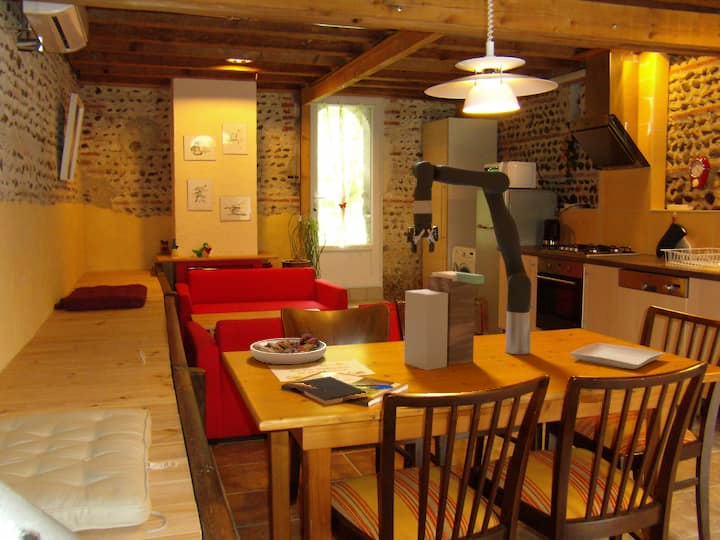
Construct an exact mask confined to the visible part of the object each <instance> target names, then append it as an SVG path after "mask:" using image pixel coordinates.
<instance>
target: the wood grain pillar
mask: <svg viewBox="0 0 720 540" xmlns="http://www.w3.org/2000/svg"><path fill="white" fill-rule="evenodd" d="M427 278H428V279H427V290H433V291H439V292H445V293H448V325H447V366H448V367H452V366H458V365H463V364H470V363H473V362H474V342H475V340H474V339H475V338H474V336H475V303H476V302H475V295H476V293H475V292H476V289H475V288H476V284H473V283H466V282H459V281H455V282H453V279H450V278H443V277H436V276H432V275H428V276H427Z"/></svg>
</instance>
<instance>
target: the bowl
mask: <svg viewBox="0 0 720 540" xmlns="http://www.w3.org/2000/svg"><path fill="white" fill-rule="evenodd" d="M249 348H250V349H249V351H250V354H251V356H252V357H253V359H256V360H257V361H259V362H262V363H264V362H265V364H269V363H271V365H279V364H293V365H301V364H300V363H304V364H309V363H313V362H315V361H318V360H320V359H321V358H322V357H324V355H325V354H326V351H327V344H326V343H325V342H322V341H320V340H319V339H318V337H313V336H312V334H310V333H305V334H303V335H302V336H301V338H299V337H285V338H284V337H283V338H282V337H281V338H271V339H270V338H269V339H265V340H264V339H263V340H259V341H257V342H256V341H255V342H254V343H252V344H251V345H250V347H249ZM308 362H309V363H308Z"/></svg>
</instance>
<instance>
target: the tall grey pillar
mask: <svg viewBox="0 0 720 540" xmlns="http://www.w3.org/2000/svg"><path fill="white" fill-rule="evenodd" d="M404 297H405V298H404V299H405V300H404V303H405V304H404V364H405V365H409V366H410V367H411V366H412V367H415V368H418V369H421V370H425V371H430V370H435V369H442V368H447V325H448V293H445V292H439V291H433V290H428V288H427V289H425V288H424V289H413V290H412V289H411V290H405V291H404Z"/></svg>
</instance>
